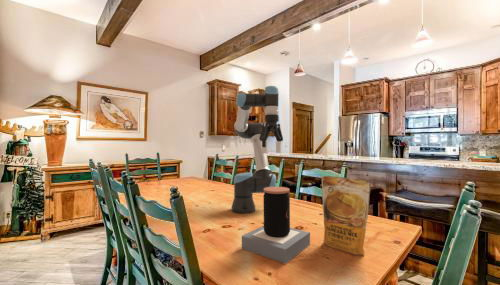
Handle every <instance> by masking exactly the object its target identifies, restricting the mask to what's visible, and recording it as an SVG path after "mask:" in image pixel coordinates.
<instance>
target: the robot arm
mask: <svg viewBox="0 0 500 285" xmlns="http://www.w3.org/2000/svg"><path fill="white" fill-rule="evenodd" d="M235 101H236V102H235V103H236V107H237V108H238V109H237V114H236V121H235V122H234V124H233V129H234V130H233V131H234V132H235V134H236V135H237V136H238V137H240V138H242V139H245V140H246V139H250V141H251V143H252V145H253V146H252V147H253V154H254V163H255V172H254V173H253V172H251V171H249V172H248V171H247V172H241V173H237V174H235V175H234V177H233V178H234V179H233V188H234V189H233V194H234V195H233V196H234V197H233V202H232V205H231V212H233V213H235V214H236V213H237V214H249V213H250V214H252V213H253V212H255V211H256V205H255V201H254V198H253V196H254V195H253V194H265V192H264V190H263V189H264V188H266V187H277V186H276V184H277V176H276V174H274V173H273V171H272V169H270V166H269V160H268V138H269V136H270V133H273V135H274V138H275V139H276V141H275V153H276V154H277V153H279V154H280V153H281V152H282V142H283V141H284V138H283V137H284V136H283V133H282V130H281V124H280V123H278V122H279V121H280V120H279V118H280V117H279V87H278V86H275V85H268V86H267V85H266V86H265V87H264V93H245V92H240V93H239V92H238V93H237V94H236V100H235ZM252 107H256V108H257V107H259V108H261V107H262V108H264V122H248V121H249V116H250V113H251V109H252Z"/></svg>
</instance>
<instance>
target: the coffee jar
mask: <svg viewBox="0 0 500 285" xmlns="http://www.w3.org/2000/svg"><path fill="white" fill-rule="evenodd" d="M263 190H264V192H265V193H263V195H262V196H263V198H262V199H263V226H264V232H265V233H266V235H268V236H270V237H277V238H279V237H285V236H287V235H288V234H289V232H290V228H291V210H290V209H291V207H290V206H291V202H290V200H291V199H290V197H291V195H290V194H289V193H290V188H289V187H286V186H275V187H266V188H264V189H263Z"/></svg>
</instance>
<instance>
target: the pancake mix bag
mask: <svg viewBox="0 0 500 285" xmlns="http://www.w3.org/2000/svg"><path fill="white" fill-rule="evenodd" d="M320 179H321V195H322V196H321V198H322V211H323V212H322V213H323V225H324V226H323V227H324V228H323V229H324V230H323V232H324V234H323V235H324V236H323V242H322V243H323V244H326V246H327V247H329V248H331V249H335V250H337V251H341V252H345V253H346V254H351V255H354V256H359V255H360V256H365V251H364V250H365V249H364V244H365V239H366V234H367V233H366V231H367V223H368V219H369V218H368V215H369V211H370V196H371V190H372V188H371V187H372V186H371V182H368V180H367V179H362V178H361V179H360V178H359V179H358V178H350V177H349V178H348V177H344V176H343V177H341V176H329V175H324V176H322V177H320Z"/></svg>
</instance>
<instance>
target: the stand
mask: <svg viewBox="0 0 500 285" xmlns="http://www.w3.org/2000/svg"><path fill="white" fill-rule="evenodd" d="M310 245H311V232H310V231H305V230H300V229H298V228H292V227H290V232H289V234H288V235H287V236H285V237H279V238H277V237H270V236H268V235H266V233H265V232H264V225H262V226H260V227H258V228H256V229H253V230H252V231H250V232H247V233H245V234H243V235H241V249H242V250H245V251H247V250H248V251H247V252H250V253H253V254H256V255H260V256H262V257H265V258H268V259H269V260H270V259H271V260H273V261H276V262H279V263H282V264H285V265H287V264H288V263H289V262H290V261H292V260H293V259H294V258H295V257H296V256H298V255H299V254H300V253H301V252H302V251H303V252H304V250H306V248H308V247H309V246H310Z"/></svg>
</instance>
